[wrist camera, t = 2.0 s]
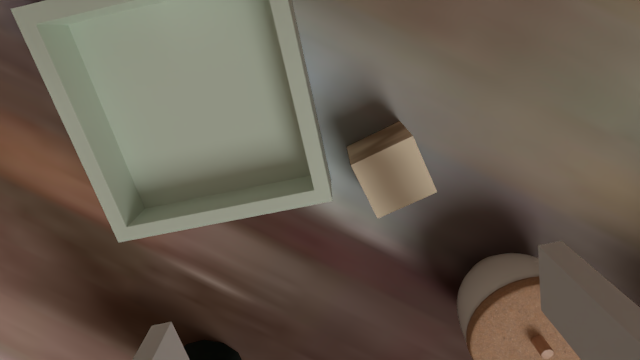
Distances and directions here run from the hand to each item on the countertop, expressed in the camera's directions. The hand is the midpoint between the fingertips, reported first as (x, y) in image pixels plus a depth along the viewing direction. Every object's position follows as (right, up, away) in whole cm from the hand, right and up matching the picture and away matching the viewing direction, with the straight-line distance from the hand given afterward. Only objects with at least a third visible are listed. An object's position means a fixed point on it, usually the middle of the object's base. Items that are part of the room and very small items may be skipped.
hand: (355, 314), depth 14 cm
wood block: (+4, +7, +20) cm, 22 cm away
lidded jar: (+16, -5, +25) cm, 30 cm away
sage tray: (-11, +11, +18) cm, 24 cm away
